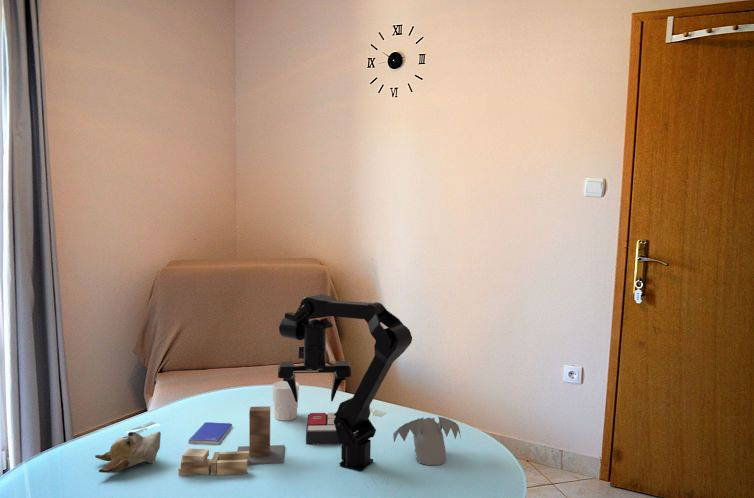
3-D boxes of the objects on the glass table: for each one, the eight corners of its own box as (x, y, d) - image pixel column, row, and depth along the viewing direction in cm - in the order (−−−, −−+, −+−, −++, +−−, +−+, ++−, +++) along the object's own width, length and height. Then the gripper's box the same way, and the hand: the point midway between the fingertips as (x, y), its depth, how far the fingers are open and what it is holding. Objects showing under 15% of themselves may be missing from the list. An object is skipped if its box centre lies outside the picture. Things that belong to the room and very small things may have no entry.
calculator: (345, 411, 176) (347, 428, 161) (345, 425, 176) (346, 444, 161) (307, 411, 175) (305, 429, 160) (307, 426, 175) (305, 445, 160)
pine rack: (249, 462, 148) (249, 450, 148) (246, 473, 143) (246, 461, 142) (214, 463, 147) (214, 452, 147) (210, 475, 142) (210, 462, 141)
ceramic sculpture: (164, 432, 144) (96, 448, 137) (167, 466, 145) (99, 484, 138) (156, 418, 153) (92, 432, 146) (158, 450, 154) (95, 466, 147)
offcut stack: (212, 464, 147) (212, 446, 147) (208, 474, 142) (208, 456, 141) (182, 465, 146) (182, 447, 146) (178, 475, 141) (177, 457, 141)
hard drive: (218, 440, 159) (232, 423, 171) (188, 439, 159) (204, 421, 172) (218, 446, 159) (232, 428, 171) (188, 444, 159) (204, 427, 172)
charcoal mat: (284, 446, 158) (284, 445, 158) (282, 463, 148) (282, 461, 148) (238, 447, 157) (238, 446, 157) (233, 465, 147) (233, 463, 147)
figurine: (455, 443, 162) (456, 404, 161) (468, 464, 150) (470, 422, 149) (390, 446, 160) (391, 406, 159) (398, 467, 147) (399, 424, 146)
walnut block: (270, 451, 154) (270, 406, 153) (269, 456, 151) (269, 410, 150) (250, 451, 154) (250, 406, 153) (249, 456, 151) (249, 411, 150)
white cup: (269, 414, 181) (269, 382, 180) (294, 410, 185) (294, 379, 184) (276, 423, 174) (276, 390, 173) (302, 419, 177) (302, 387, 177)
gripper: (348, 335, 163) (347, 390, 165) (279, 336, 161) (279, 392, 163) (351, 345, 152) (350, 404, 154) (278, 346, 150) (277, 406, 152)
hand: (314, 401), depth 156 cm, fingers open, 9 cm apart
